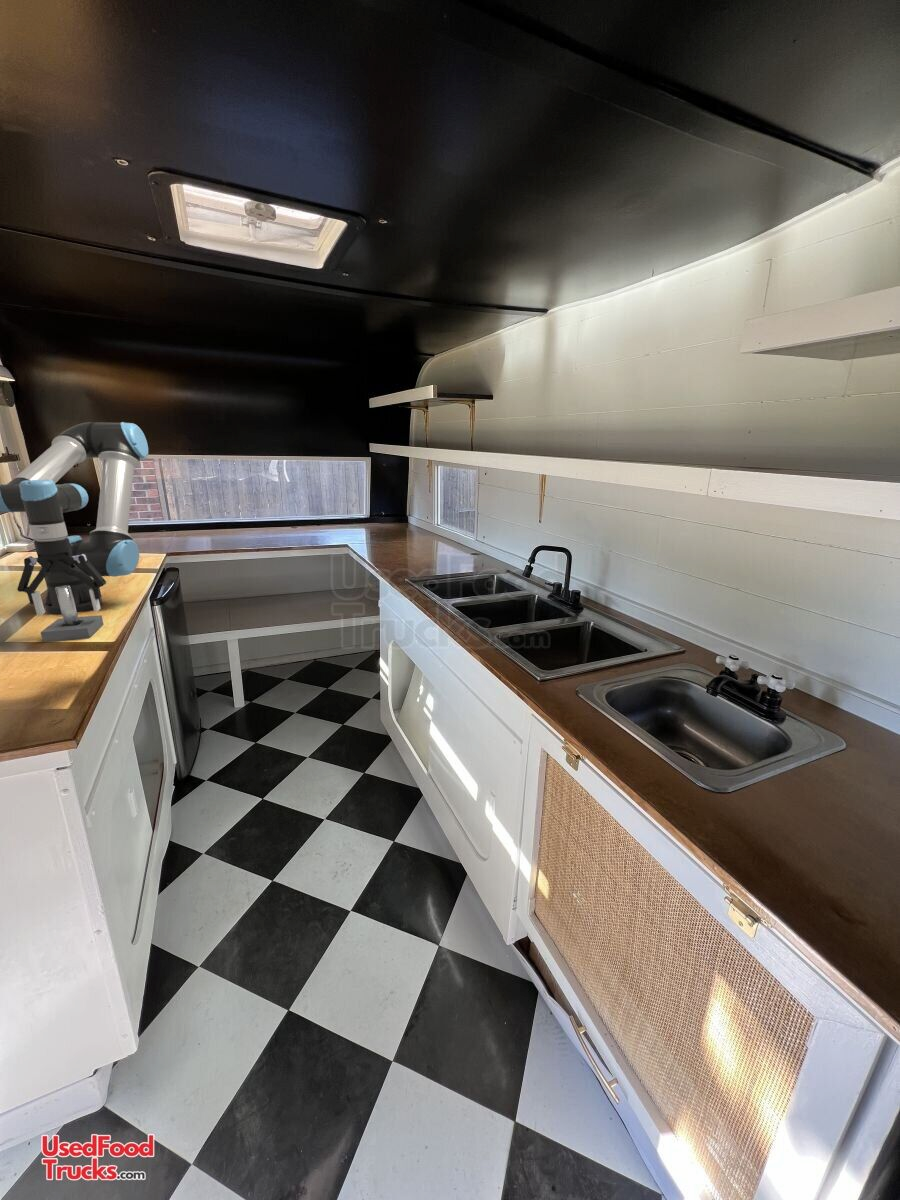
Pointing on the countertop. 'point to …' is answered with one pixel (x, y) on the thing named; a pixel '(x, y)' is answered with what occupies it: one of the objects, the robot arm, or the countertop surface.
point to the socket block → (72, 629)
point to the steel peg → (67, 605)
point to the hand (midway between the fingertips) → (69, 612)
